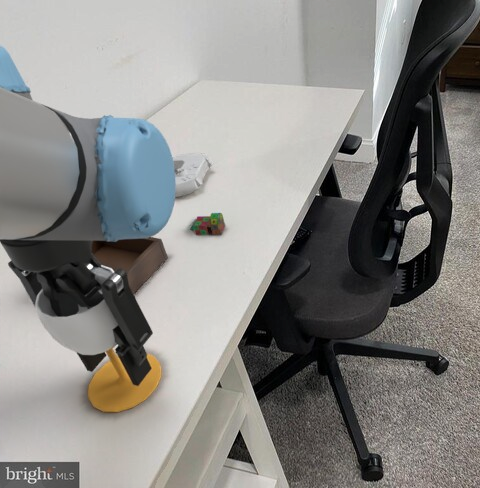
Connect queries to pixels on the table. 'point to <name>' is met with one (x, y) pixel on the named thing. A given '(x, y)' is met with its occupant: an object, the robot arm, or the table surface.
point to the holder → (131, 257)
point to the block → (208, 224)
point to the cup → (95, 342)
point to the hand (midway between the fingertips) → (119, 369)
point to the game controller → (190, 172)
